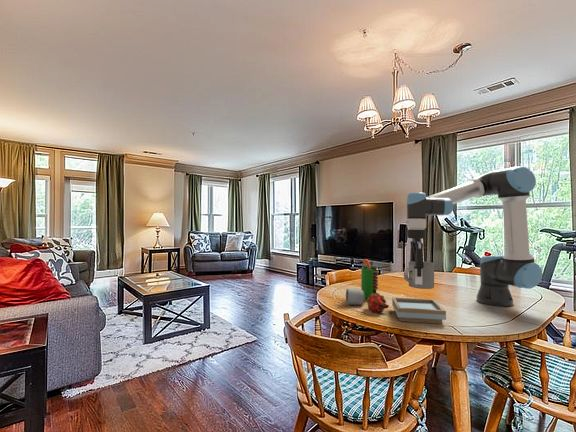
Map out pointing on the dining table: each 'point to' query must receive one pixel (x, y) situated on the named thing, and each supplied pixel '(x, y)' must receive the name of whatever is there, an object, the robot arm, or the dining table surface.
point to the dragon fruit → (376, 302)
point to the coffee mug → (426, 275)
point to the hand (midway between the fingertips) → (416, 282)
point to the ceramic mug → (354, 297)
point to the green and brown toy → (369, 279)
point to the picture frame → (419, 310)
